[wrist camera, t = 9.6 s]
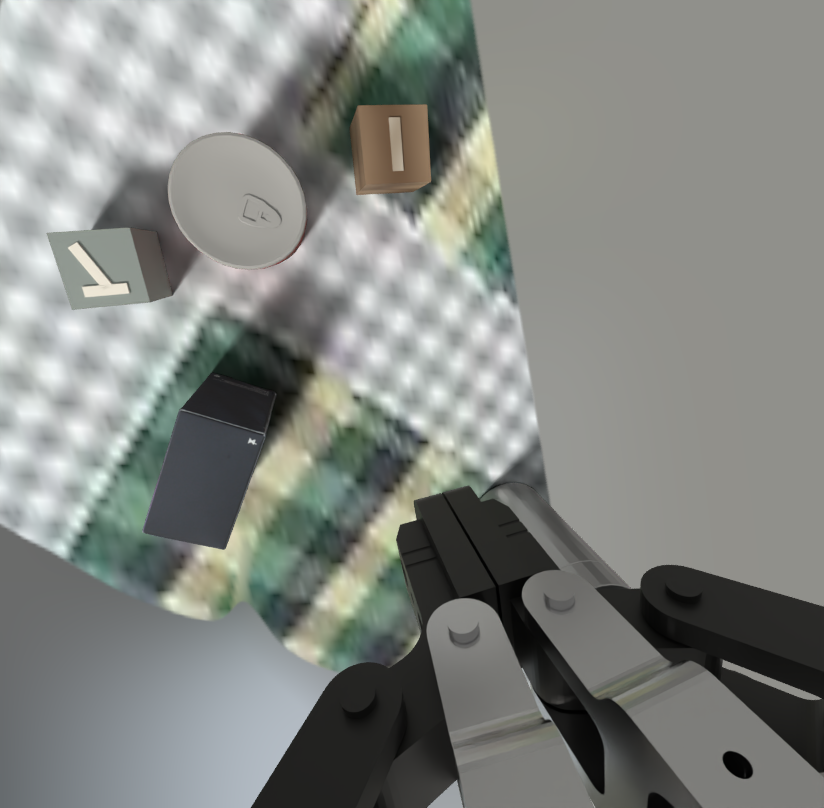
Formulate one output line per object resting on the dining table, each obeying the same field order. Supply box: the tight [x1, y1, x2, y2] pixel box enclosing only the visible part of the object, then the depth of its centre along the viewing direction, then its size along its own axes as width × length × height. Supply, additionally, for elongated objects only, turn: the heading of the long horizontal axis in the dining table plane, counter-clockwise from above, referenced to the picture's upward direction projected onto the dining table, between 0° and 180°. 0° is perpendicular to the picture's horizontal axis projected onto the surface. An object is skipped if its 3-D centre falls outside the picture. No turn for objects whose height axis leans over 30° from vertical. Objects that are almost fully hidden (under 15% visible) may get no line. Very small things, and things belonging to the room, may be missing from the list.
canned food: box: [168, 132, 307, 270], centre depth 32 cm, size 8×8×11 cm
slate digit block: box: [47, 228, 173, 310], centre depth 33 cm, size 5×5×6 cm
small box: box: [143, 373, 277, 550], centre depth 37 cm, size 11×6×10 cm, turn 156°
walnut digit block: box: [350, 105, 431, 195], centre depth 35 cm, size 5×5×6 cm
